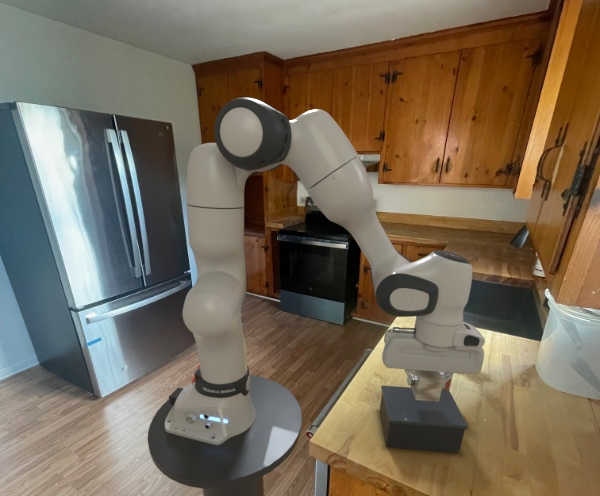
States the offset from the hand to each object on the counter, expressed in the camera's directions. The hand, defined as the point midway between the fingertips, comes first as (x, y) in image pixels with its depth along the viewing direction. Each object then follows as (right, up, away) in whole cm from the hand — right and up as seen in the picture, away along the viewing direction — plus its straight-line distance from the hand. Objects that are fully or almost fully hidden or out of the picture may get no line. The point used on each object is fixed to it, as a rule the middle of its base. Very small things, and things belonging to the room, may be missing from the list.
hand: (425, 385), depth 73 cm
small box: (+7, -9, +17) cm, 20 cm away
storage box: (0, -13, +6) cm, 14 cm away
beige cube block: (0, -2, +1) cm, 2 cm away
